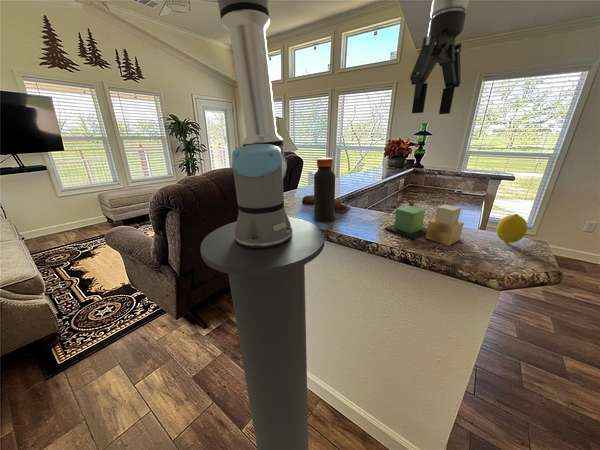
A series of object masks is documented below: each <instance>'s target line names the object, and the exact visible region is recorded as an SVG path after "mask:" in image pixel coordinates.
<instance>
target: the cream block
mask: <svg viewBox="0 0 600 450" xmlns="http://www.w3.org/2000/svg"><path fill="white" fill-rule="evenodd" d="M461 210H462V207H460V206H456V205H451V204H446V203H445V204H442V205H439V206H437V207H436V212H435V217H434V219H435V222H439V223H442V224H446V225H450V226H451V225H453V224H455V223H457V222H458V221H459V219H460V216H461Z"/></svg>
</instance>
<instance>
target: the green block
mask: <svg viewBox="0 0 600 450" xmlns="http://www.w3.org/2000/svg"><path fill="white" fill-rule="evenodd" d="M395 210H396V211H395V217H394V218H395V219H394V224H393V225H394V228H396V229H399V230H402V231H405V232H407V233H410V234H412V233H414V232H416V231H419V230H421V229H422V227H423V225H424V219H425V214H426V209H424V208H419V207H416V206H411V205H404V206H401V207H398V208H396V209H395Z"/></svg>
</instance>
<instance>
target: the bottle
mask: <svg viewBox="0 0 600 450" xmlns="http://www.w3.org/2000/svg"><path fill="white" fill-rule="evenodd" d="M333 163H334V159H333V158H332V157H318V158H316V166H317V167H316V168H317V171H316V172H315V173H314V175H313V195H314V205H313V217H314V218H313V219H314V220H315V221H317V222H322V223H327V222H332V221H333V220H334V219H335V210H334V203H335V199H336V198H335V197H336V174H335V173H334V171H333V170H332V168H333Z"/></svg>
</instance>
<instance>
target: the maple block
mask: <svg viewBox="0 0 600 450" xmlns="http://www.w3.org/2000/svg"><path fill="white" fill-rule="evenodd" d="M427 223H428V224H427V227H426V228H427V233H426V234H425V239H427V240H430V241H433V242H435V243H439V244H442V245H444V246H447V247H449V246H451V245H452V244H455V243H457V242H458V241H460V240H461V236H462V231H463V228H464V221H459V220H458V222H457V223H455V224H453V225H451V226H450V225H446V224H442V223H439V222H435V218H433V219H430V220H429V221H428V222H427Z"/></svg>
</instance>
